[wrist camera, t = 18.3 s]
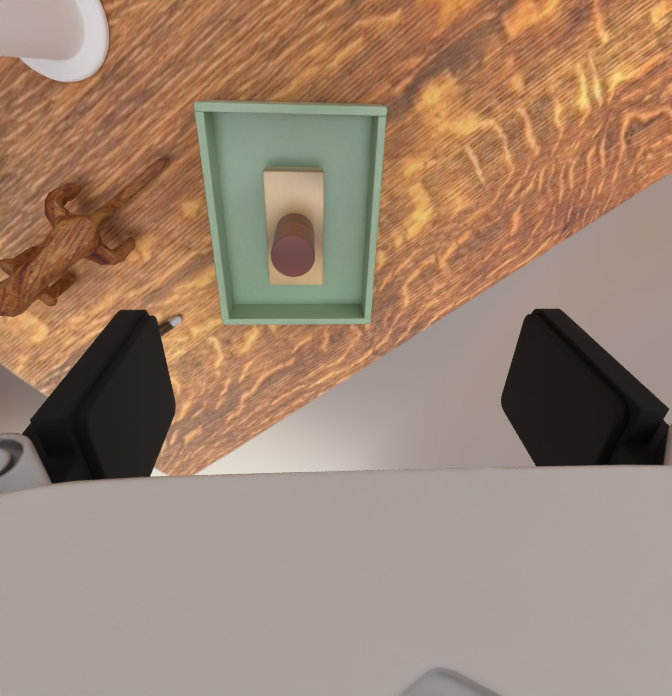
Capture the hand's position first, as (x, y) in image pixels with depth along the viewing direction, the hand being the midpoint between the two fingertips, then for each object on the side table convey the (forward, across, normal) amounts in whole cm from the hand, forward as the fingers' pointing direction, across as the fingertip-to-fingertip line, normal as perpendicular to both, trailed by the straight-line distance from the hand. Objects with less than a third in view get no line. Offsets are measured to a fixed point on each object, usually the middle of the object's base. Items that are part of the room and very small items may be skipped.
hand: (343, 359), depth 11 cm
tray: (+28, +2, +4) cm, 29 cm away
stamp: (+28, +2, +4) cm, 28 cm away
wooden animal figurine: (+28, +19, +5) cm, 35 cm away
